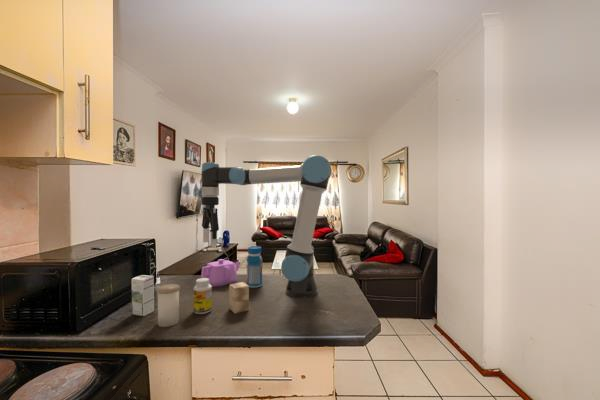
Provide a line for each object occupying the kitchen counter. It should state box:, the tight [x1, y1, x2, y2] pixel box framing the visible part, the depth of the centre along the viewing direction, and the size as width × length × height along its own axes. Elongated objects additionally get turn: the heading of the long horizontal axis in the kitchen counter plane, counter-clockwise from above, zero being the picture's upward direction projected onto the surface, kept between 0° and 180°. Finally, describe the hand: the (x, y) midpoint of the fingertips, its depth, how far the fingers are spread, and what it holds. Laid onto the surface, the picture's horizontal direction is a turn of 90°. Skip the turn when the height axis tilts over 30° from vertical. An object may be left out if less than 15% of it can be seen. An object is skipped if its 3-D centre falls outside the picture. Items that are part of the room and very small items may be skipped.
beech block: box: [228, 281, 250, 314], centre depth 114 cm, size 6×6×10 cm
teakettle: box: [200, 258, 241, 288], centre depth 149 cm, size 17×17×12 cm
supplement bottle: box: [192, 277, 213, 315], centre depth 111 cm, size 7×7×13 cm
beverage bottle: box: [245, 245, 264, 289], centre depth 144 cm, size 8×8×20 cm
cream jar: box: [156, 283, 180, 328], centre depth 101 cm, size 7×7×13 cm
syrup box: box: [131, 274, 155, 317], centre depth 109 cm, size 6×6×14 cm
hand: (209, 244), depth 127 cm, fingers open, 11 cm apart
